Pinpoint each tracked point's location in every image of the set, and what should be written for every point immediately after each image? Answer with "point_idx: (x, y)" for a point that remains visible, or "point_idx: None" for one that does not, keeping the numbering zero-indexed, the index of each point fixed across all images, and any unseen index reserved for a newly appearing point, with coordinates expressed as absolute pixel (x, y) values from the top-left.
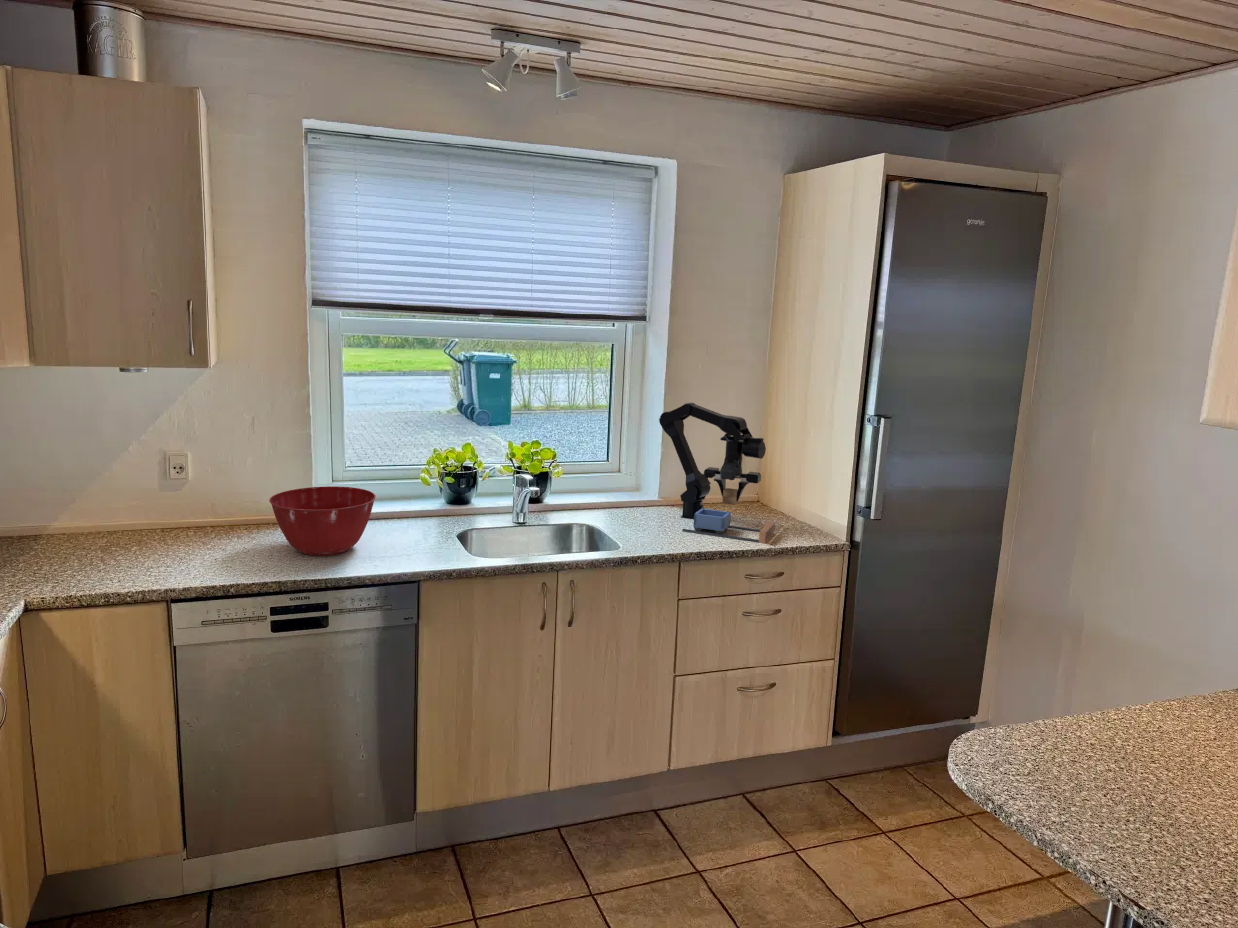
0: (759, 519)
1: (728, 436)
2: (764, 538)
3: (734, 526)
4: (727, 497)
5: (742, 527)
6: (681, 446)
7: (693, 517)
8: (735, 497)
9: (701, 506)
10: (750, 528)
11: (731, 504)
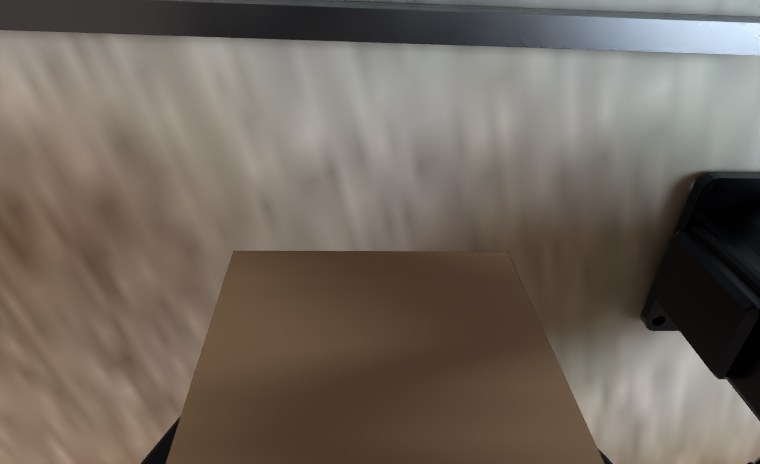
0: None
1: None
2: None
3: (238, 9)
4: (428, 350)
5: (126, 12)
6: None
7: (758, 202)
8: (204, 374)
9: (757, 313)
10: (12, 15)
11: (316, 252)
